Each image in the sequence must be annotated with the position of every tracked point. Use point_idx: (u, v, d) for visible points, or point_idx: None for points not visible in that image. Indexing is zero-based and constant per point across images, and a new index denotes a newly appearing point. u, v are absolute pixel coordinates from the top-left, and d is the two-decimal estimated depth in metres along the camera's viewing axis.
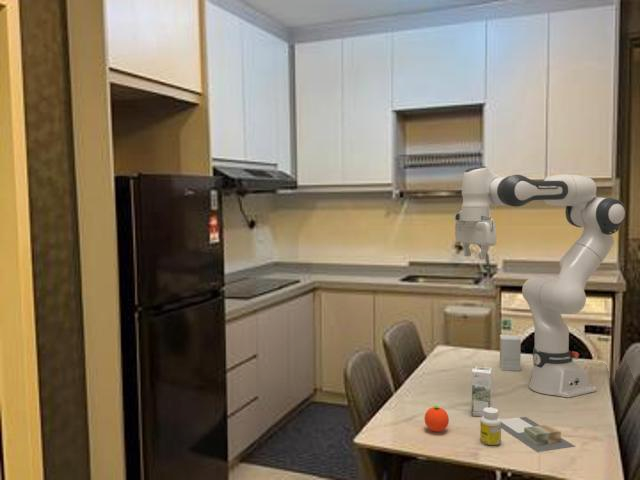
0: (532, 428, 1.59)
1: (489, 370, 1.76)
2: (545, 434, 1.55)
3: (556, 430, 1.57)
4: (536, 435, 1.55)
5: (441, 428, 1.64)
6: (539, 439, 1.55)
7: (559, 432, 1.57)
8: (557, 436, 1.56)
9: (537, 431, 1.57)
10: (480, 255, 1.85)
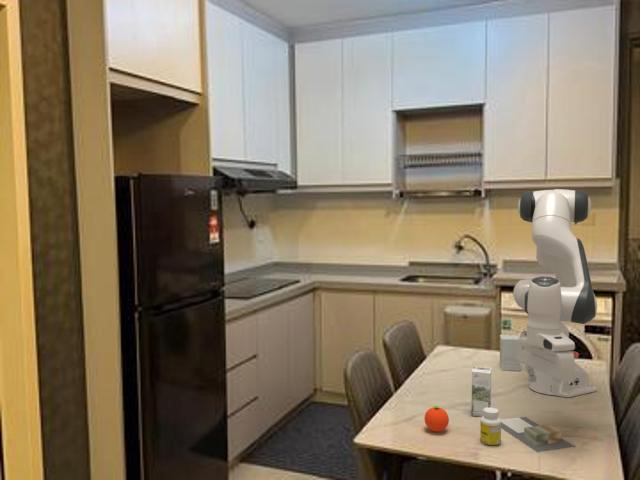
0: (532, 428, 1.59)
1: (489, 370, 1.76)
2: (545, 434, 1.55)
3: (556, 430, 1.57)
4: (536, 435, 1.55)
5: (441, 428, 1.64)
6: (539, 439, 1.55)
7: (559, 432, 1.57)
8: (557, 436, 1.56)
9: (537, 431, 1.57)
10: None
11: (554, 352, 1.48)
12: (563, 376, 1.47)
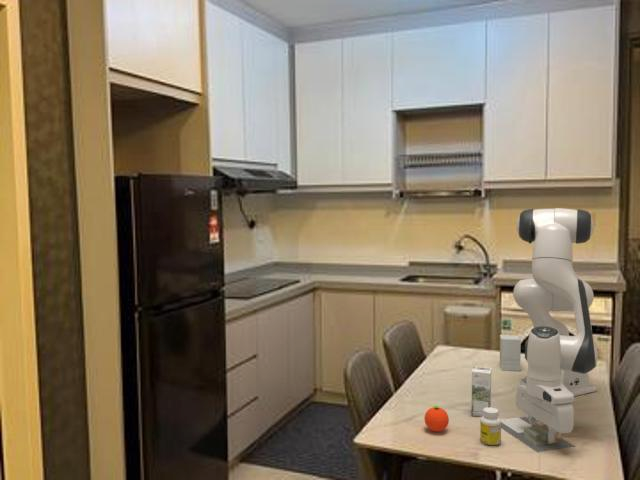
0: (532, 428, 1.59)
1: (489, 370, 1.76)
2: (545, 434, 1.55)
3: None
4: (536, 435, 1.55)
5: (441, 428, 1.64)
6: (539, 439, 1.55)
7: None
8: (557, 436, 1.56)
9: (537, 431, 1.57)
10: None
11: (553, 405, 1.49)
12: (563, 429, 1.48)
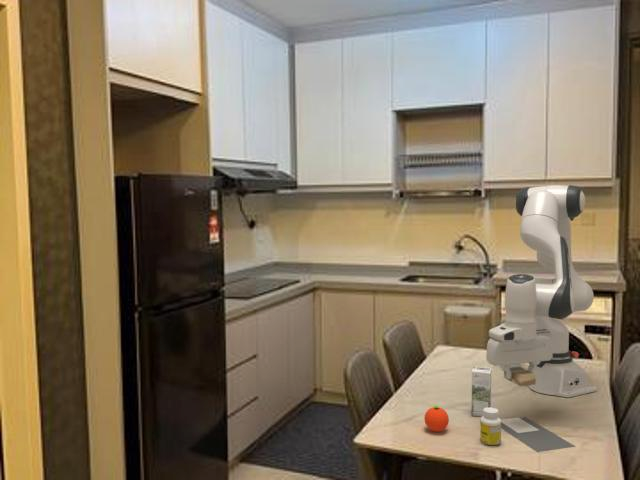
0: (519, 368, 1.70)
1: (489, 370, 1.76)
2: None
3: (521, 374, 1.64)
4: None
5: (441, 428, 1.64)
6: None
7: (519, 376, 1.64)
8: (518, 379, 1.64)
9: (512, 369, 1.70)
10: None
11: None
12: None
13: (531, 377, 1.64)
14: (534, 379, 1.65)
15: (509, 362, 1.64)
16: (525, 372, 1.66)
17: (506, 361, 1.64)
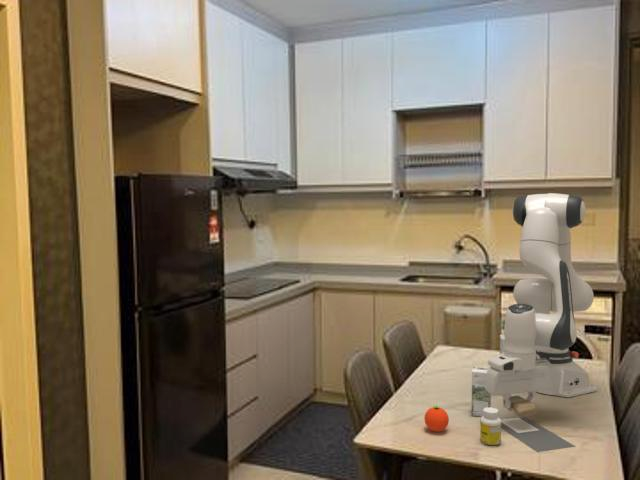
0: (518, 397, 1.70)
1: None
2: None
3: (520, 404, 1.64)
4: None
5: (441, 428, 1.64)
6: None
7: (518, 406, 1.64)
8: (517, 409, 1.65)
9: (511, 398, 1.70)
10: None
11: None
12: (486, 388, 1.66)
13: (530, 407, 1.65)
14: (533, 409, 1.65)
15: (508, 392, 1.65)
16: (524, 402, 1.67)
17: (505, 391, 1.64)
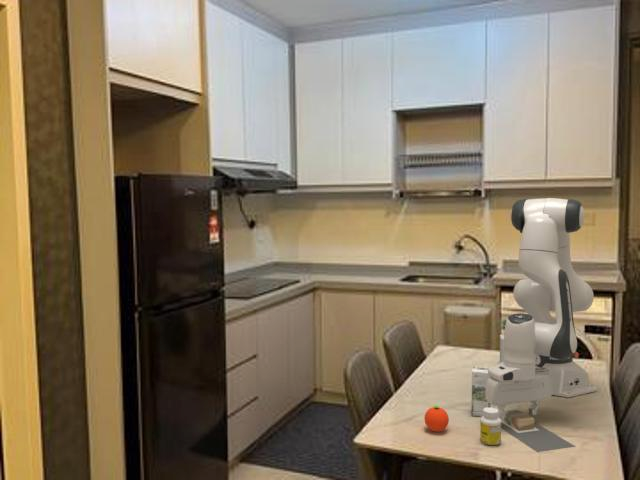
0: (518, 411, 1.71)
1: None
2: (509, 415, 1.69)
3: (520, 419, 1.65)
4: None
5: (441, 428, 1.64)
6: None
7: (518, 421, 1.65)
8: (516, 423, 1.65)
9: (511, 412, 1.71)
10: (534, 411, 1.69)
11: None
12: (486, 398, 1.67)
13: (530, 422, 1.65)
14: (533, 424, 1.65)
15: (508, 402, 1.65)
16: (524, 416, 1.67)
17: (505, 401, 1.65)
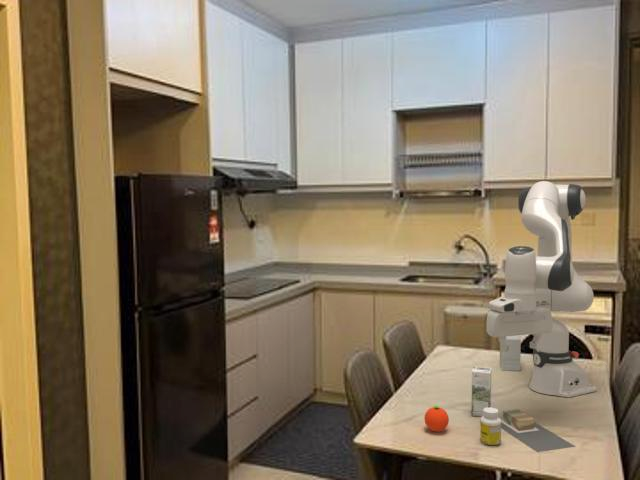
0: (518, 411, 1.71)
1: (489, 370, 1.76)
2: (509, 415, 1.69)
3: (520, 419, 1.65)
4: (503, 411, 1.72)
5: (441, 428, 1.64)
6: (505, 417, 1.71)
7: (518, 421, 1.65)
8: (516, 423, 1.65)
9: (511, 412, 1.71)
10: (535, 344, 1.68)
11: None
12: (486, 330, 1.66)
13: (530, 422, 1.65)
14: (533, 424, 1.65)
15: (509, 334, 1.64)
16: (524, 416, 1.67)
17: (506, 333, 1.64)
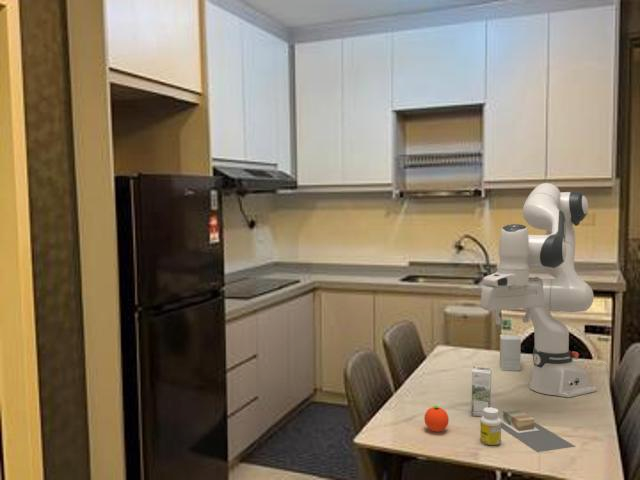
0: (518, 411, 1.71)
1: (489, 370, 1.76)
2: (509, 415, 1.69)
3: (520, 419, 1.65)
4: (503, 411, 1.72)
5: (441, 428, 1.64)
6: (505, 417, 1.71)
7: (518, 421, 1.65)
8: (516, 423, 1.65)
9: (511, 412, 1.71)
10: (528, 318, 1.76)
11: None
12: (481, 304, 1.73)
13: (530, 422, 1.65)
14: (533, 424, 1.65)
15: (502, 307, 1.72)
16: (524, 416, 1.67)
17: (499, 306, 1.72)
